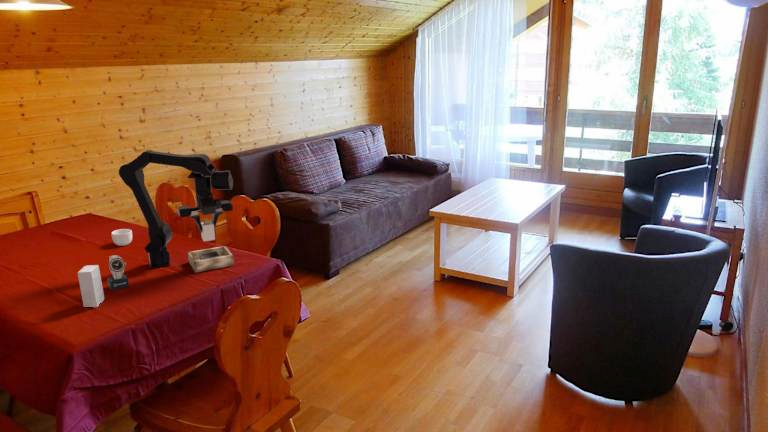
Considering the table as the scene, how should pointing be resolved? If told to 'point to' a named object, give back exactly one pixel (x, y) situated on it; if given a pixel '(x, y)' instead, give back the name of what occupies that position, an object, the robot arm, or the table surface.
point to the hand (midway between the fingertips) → (207, 231)
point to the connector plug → (207, 230)
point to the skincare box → (91, 286)
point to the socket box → (210, 259)
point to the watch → (117, 273)
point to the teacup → (122, 237)
